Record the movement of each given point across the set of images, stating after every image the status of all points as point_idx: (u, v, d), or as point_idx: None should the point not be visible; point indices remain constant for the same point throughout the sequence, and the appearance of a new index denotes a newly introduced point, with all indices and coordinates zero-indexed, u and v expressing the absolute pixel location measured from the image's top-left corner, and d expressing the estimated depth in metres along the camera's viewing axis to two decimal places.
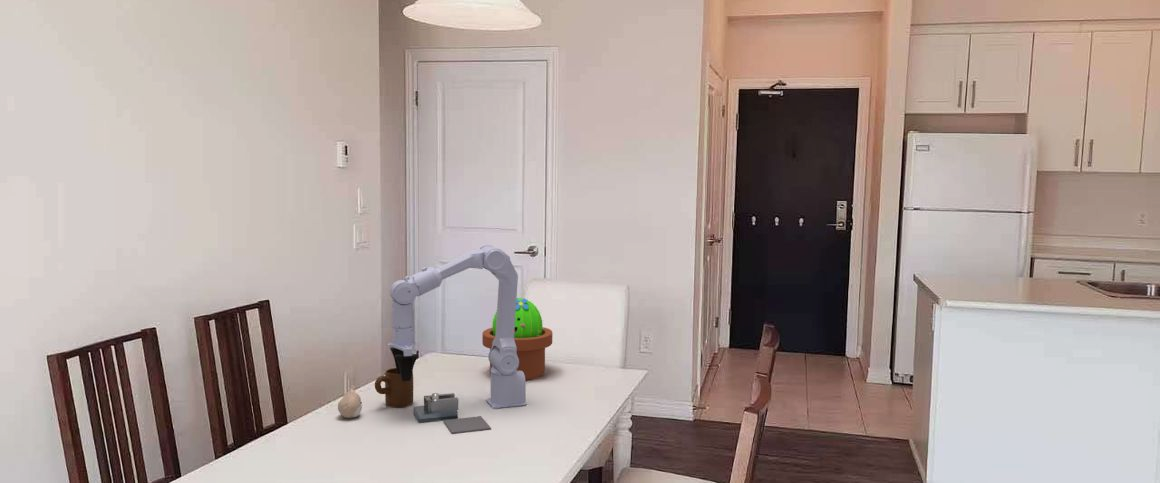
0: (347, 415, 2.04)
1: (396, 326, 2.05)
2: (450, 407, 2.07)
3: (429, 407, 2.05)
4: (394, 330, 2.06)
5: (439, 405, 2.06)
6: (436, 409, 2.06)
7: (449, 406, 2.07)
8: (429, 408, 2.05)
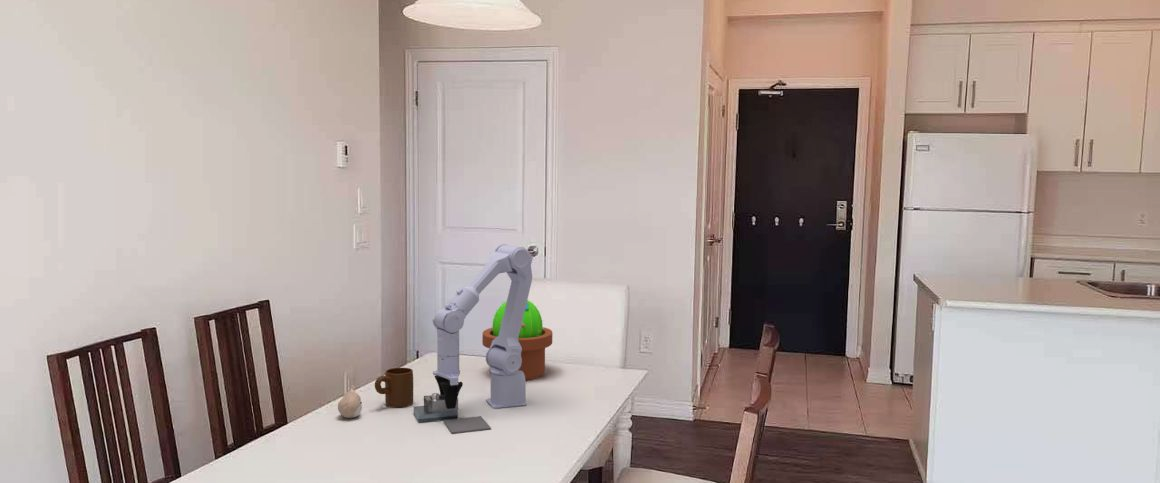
0: (347, 415, 2.04)
1: (444, 355, 2.05)
2: None
3: (429, 407, 2.05)
4: (440, 358, 2.06)
5: (439, 405, 2.06)
6: (436, 409, 2.06)
7: None
8: (429, 408, 2.05)
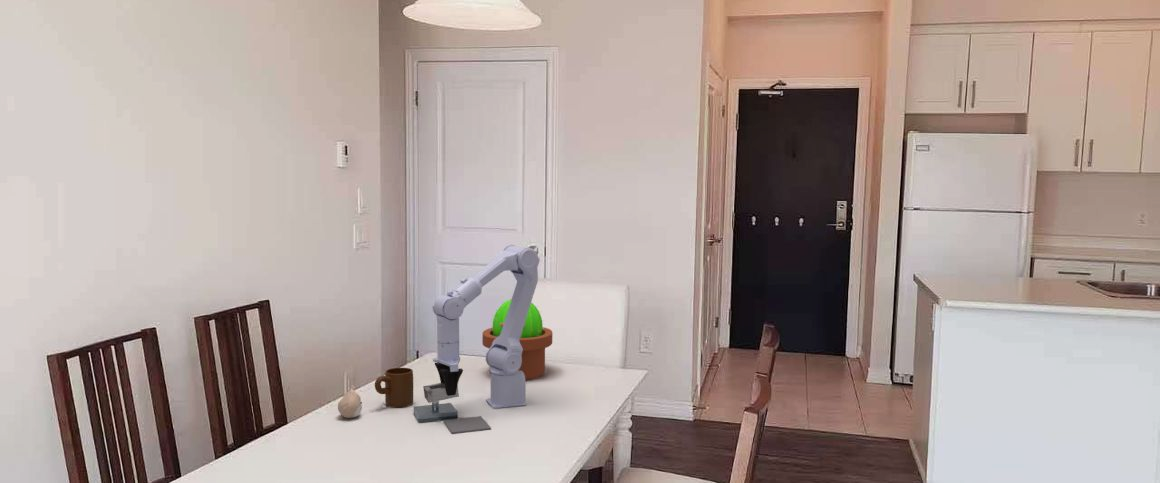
0: (347, 415, 2.04)
1: (444, 341, 2.05)
2: (450, 395, 2.07)
3: (429, 397, 2.05)
4: (440, 345, 2.06)
5: (439, 394, 2.05)
6: (436, 398, 2.05)
7: None
8: (430, 397, 2.05)
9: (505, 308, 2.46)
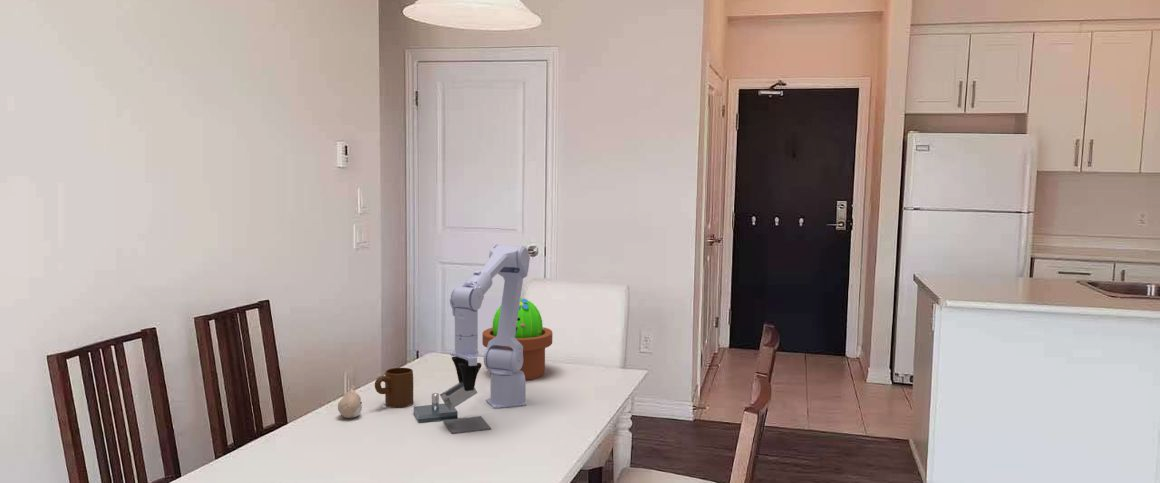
0: (347, 415, 2.04)
1: (468, 334, 1.97)
2: (468, 394, 1.98)
3: (448, 404, 1.96)
4: (457, 338, 1.97)
5: (457, 397, 1.97)
6: (456, 403, 1.97)
7: (467, 394, 1.98)
8: (449, 405, 1.96)
9: None
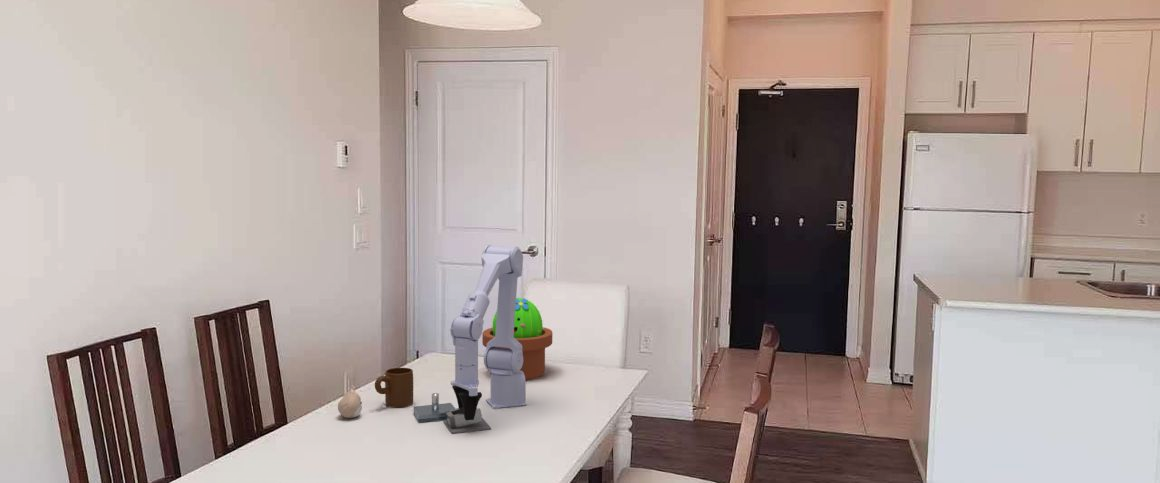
0: (347, 415, 2.04)
1: (469, 364, 1.97)
2: (474, 419, 1.99)
3: (452, 423, 1.97)
4: (458, 368, 1.98)
5: (462, 419, 1.98)
6: (459, 424, 1.98)
7: None
8: (452, 424, 1.97)
9: None
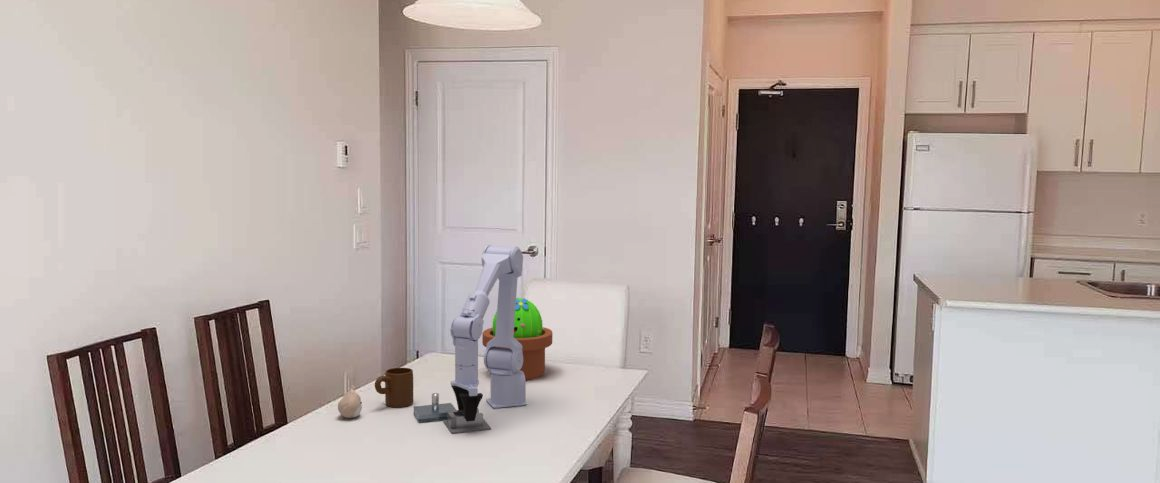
0: (347, 415, 2.04)
1: (469, 364, 1.97)
2: (474, 423, 1.99)
3: (453, 423, 1.97)
4: (458, 368, 1.98)
5: (464, 421, 1.98)
6: (460, 425, 1.98)
7: (473, 422, 1.99)
8: (453, 424, 1.97)
9: None
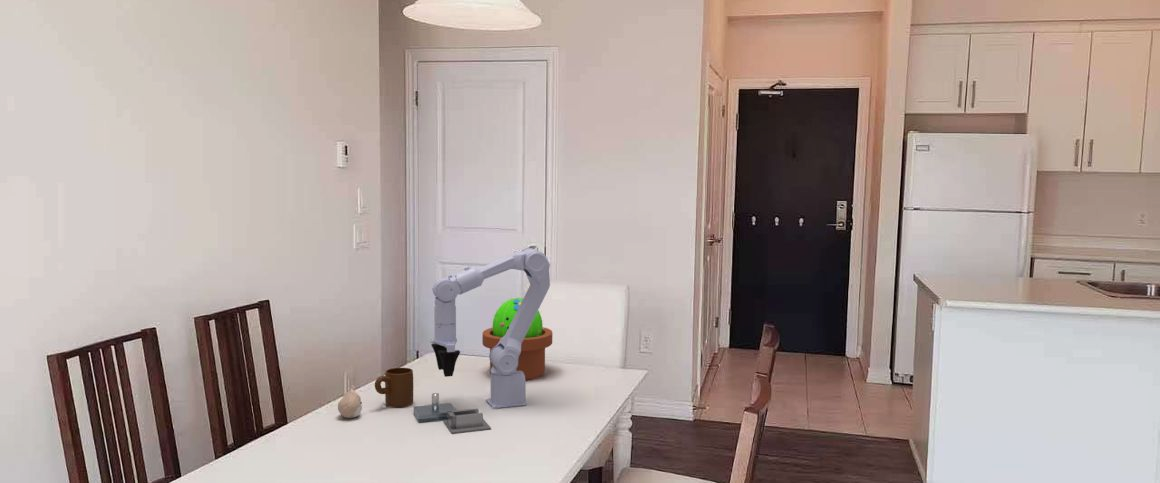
0: (347, 415, 2.04)
1: (438, 323, 2.11)
2: (474, 423, 1.99)
3: (453, 423, 1.97)
4: (437, 327, 2.11)
5: (464, 421, 1.98)
6: (460, 425, 1.98)
7: (473, 422, 1.99)
8: (453, 424, 1.97)
9: (505, 308, 2.46)
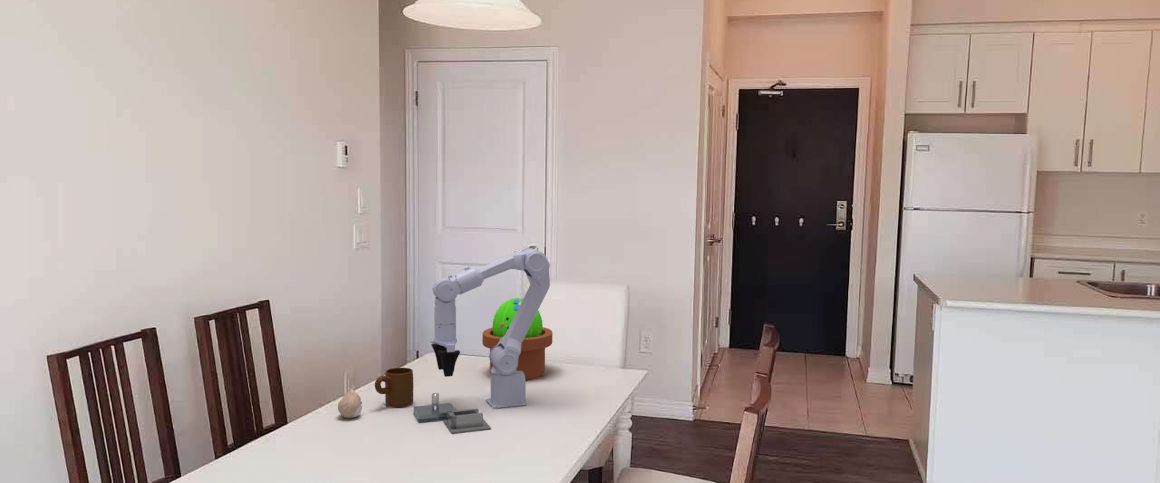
0: (347, 415, 2.04)
1: (438, 323, 2.11)
2: (474, 423, 1.99)
3: (453, 423, 1.97)
4: (437, 327, 2.11)
5: (464, 421, 1.98)
6: (460, 425, 1.98)
7: (473, 422, 1.99)
8: (453, 424, 1.97)
9: (505, 308, 2.46)
